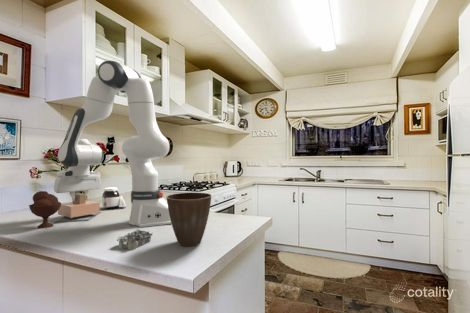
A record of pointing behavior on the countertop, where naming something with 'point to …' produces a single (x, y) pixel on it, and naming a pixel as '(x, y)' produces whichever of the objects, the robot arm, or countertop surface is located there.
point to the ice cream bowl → (44, 207)
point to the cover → (79, 207)
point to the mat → (77, 218)
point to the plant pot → (189, 216)
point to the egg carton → (134, 239)
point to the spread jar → (111, 198)
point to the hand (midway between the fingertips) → (79, 200)
